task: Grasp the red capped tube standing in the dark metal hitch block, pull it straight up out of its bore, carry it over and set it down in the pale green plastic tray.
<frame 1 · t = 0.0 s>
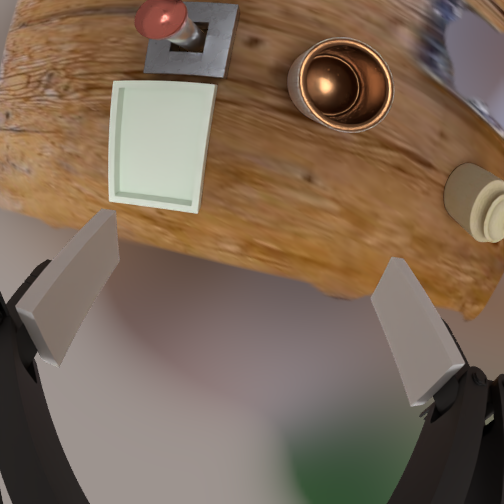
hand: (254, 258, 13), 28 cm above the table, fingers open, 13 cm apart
hitch block: (195, 41, 28), on the table
tray: (159, 142, 36), on the table
sugar bowl: (471, 191, 38), on the table
red capped tube: (195, 41, 28), resting in hitch block
planter: (326, 85, 32), on the table
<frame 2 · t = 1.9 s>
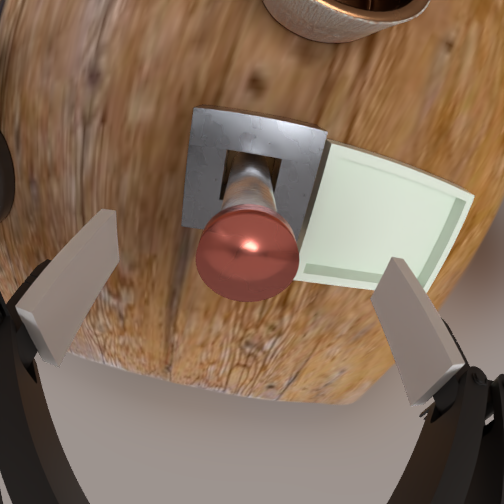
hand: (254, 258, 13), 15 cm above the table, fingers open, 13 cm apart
hitch block: (250, 165, 25), on the table
tray: (383, 223, 28), on the table
red capped tube: (250, 165, 25), resting in hitch block
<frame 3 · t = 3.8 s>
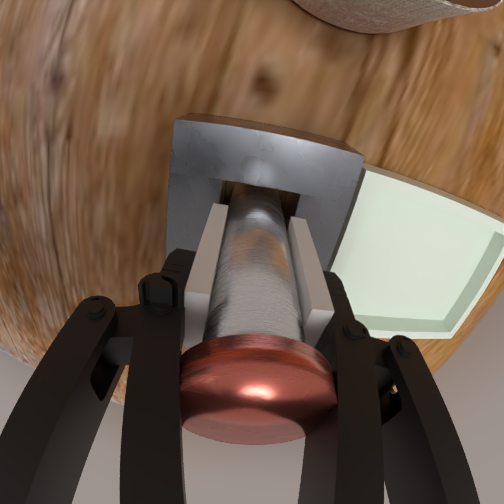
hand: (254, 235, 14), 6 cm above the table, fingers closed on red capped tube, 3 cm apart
hitch block: (255, 195, 19), on the table
tray: (415, 263, 22), on the table
red capped tube: (255, 195, 19), resting in hitch block, touching gripper
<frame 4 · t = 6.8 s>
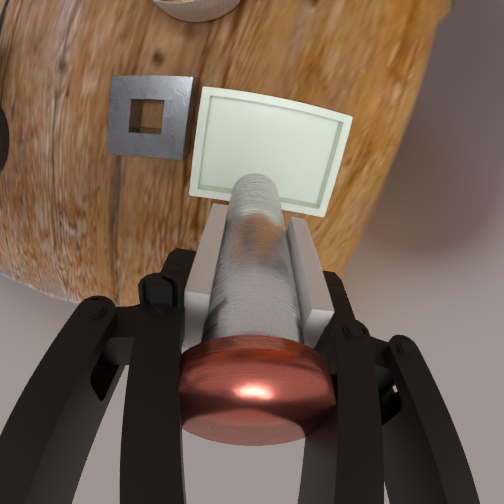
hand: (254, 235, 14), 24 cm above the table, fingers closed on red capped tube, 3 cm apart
hitch block: (156, 112, 31), on the table
tray: (267, 149, 35), on the table
red capped tube: (254, 195, 19), point 18 cm above the table, touching gripper
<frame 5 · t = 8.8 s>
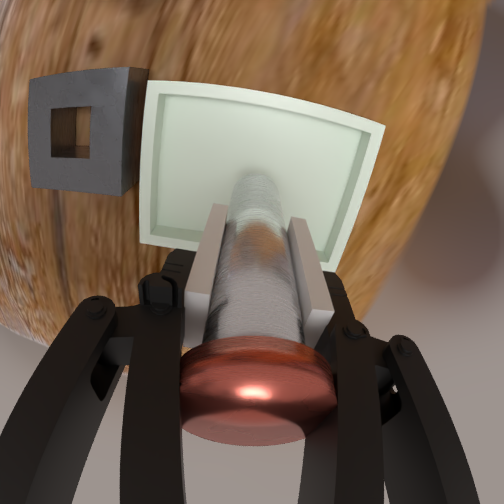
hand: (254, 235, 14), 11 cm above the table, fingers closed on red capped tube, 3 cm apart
hitch block: (93, 124, 20), on the table
tray: (253, 173, 23), on the table
red capped tube: (255, 195, 19), point 5 cm above the table, touching gripper
when the fingers open (7 cm above the table, at t = 10.0 s): red capped tube stays where it is, resting on tray.
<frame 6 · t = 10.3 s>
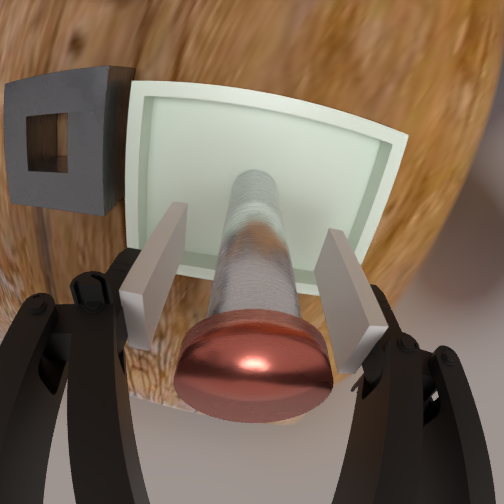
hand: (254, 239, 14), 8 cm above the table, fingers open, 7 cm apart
hitch block: (75, 131, 18), on the table
tray: (255, 188, 20), on the table
red capped tube: (254, 191, 20), point 1 cm above the table, touching tray
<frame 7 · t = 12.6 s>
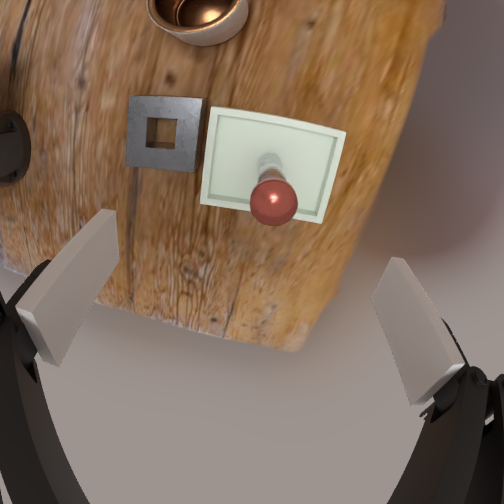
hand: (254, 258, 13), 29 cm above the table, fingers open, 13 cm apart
hitch block: (169, 129, 36), on the table
tray: (270, 162, 39), on the table
red capped tube: (269, 163, 38), point 1 cm above the table, touching tray
planter: (208, 14, 27), on the table
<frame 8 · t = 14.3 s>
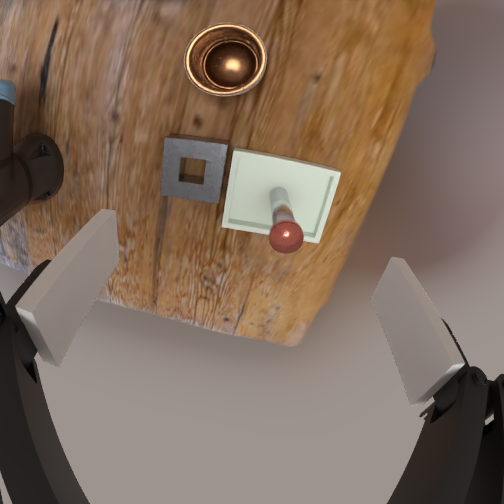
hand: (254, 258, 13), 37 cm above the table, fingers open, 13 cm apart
hitch block: (196, 164, 47), on the table
tray: (278, 194, 49), on the table
red capped tube: (278, 195, 49), point 1 cm above the table, touching tray
planter: (231, 64, 37), on the table
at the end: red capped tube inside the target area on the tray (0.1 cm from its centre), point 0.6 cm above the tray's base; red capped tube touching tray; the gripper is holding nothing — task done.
